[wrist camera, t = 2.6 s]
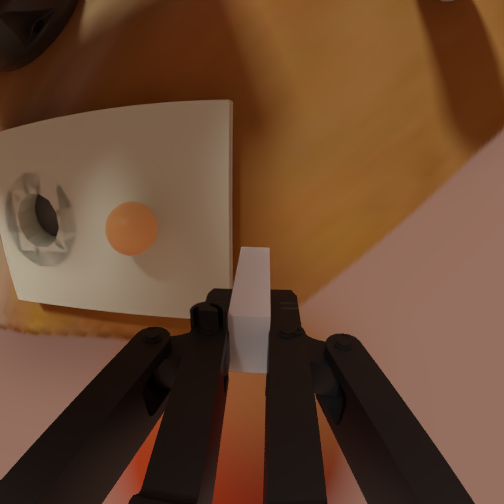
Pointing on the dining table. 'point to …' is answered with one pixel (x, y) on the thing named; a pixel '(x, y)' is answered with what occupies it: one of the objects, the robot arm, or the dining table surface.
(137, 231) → the ball
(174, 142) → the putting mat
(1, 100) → the dining table surface
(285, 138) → the dining table surface
